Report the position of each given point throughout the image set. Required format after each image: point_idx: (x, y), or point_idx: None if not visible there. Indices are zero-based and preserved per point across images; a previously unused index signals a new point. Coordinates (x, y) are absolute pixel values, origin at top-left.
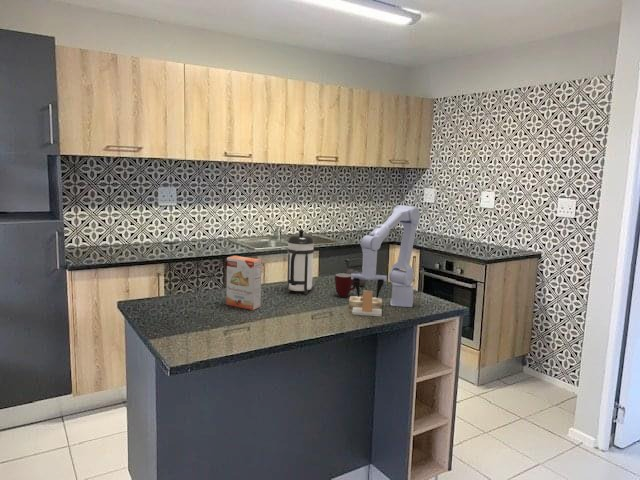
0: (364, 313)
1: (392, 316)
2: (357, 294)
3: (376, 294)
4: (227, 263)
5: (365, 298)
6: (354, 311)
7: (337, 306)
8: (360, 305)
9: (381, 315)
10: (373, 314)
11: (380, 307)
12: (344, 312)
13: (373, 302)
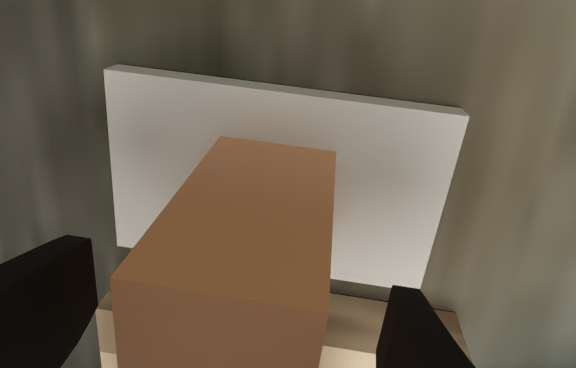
0: (311, 94)
1: (3, 83)
2: (436, 315)
3: (64, 305)
4: None
5: (281, 231)
6: (433, 141)
7: (564, 354)
8: (334, 319)
9: (111, 66)
10: (202, 80)
11: None
12: (540, 173)
13: None
